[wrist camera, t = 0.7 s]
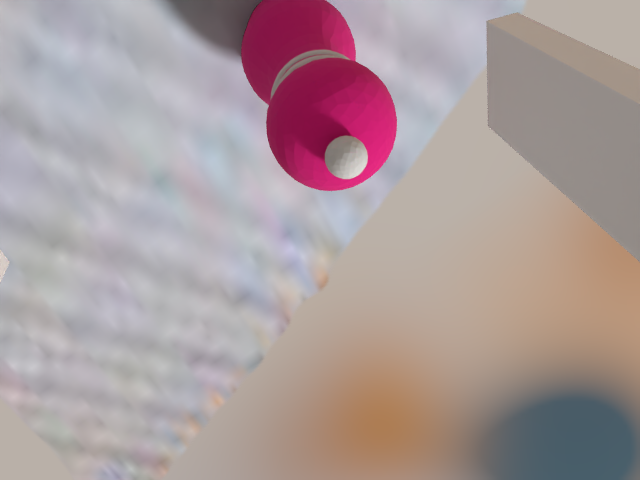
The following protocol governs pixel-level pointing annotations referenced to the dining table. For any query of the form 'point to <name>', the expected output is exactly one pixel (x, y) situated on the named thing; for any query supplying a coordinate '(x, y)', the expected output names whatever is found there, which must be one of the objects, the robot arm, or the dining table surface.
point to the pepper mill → (317, 94)
